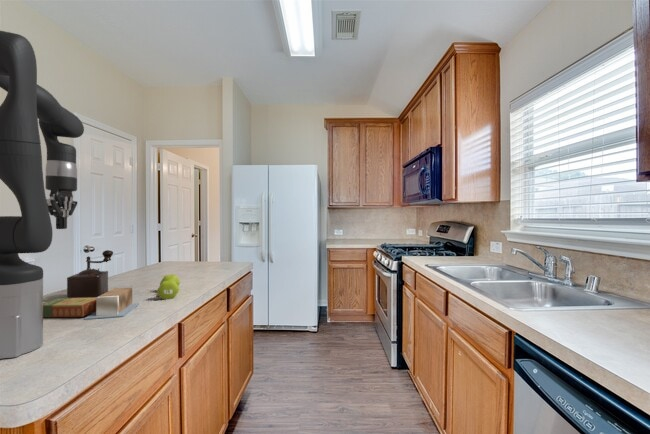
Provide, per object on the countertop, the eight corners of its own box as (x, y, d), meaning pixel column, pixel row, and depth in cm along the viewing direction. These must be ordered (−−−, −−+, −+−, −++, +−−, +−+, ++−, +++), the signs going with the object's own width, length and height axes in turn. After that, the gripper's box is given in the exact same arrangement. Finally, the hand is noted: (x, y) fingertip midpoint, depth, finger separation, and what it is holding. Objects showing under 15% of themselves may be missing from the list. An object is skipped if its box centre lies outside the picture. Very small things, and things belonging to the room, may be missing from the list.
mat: (123, 316, 91) (123, 315, 91) (83, 319, 89) (83, 318, 89) (138, 304, 104) (138, 303, 104) (104, 306, 101) (104, 305, 101)
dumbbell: (179, 299, 112) (179, 281, 112) (156, 301, 108) (156, 283, 108) (180, 289, 127) (180, 273, 127) (160, 290, 123) (160, 274, 123)
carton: (82, 317, 90) (82, 304, 89) (34, 317, 90) (34, 304, 90) (103, 308, 98) (103, 296, 98) (59, 308, 98) (59, 296, 98)
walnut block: (132, 303, 104) (117, 314, 93) (113, 304, 103) (96, 315, 91) (132, 287, 104) (117, 296, 93) (113, 288, 103) (96, 297, 91)
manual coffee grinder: (100, 299, 110) (101, 254, 110) (65, 301, 107) (66, 255, 106) (114, 289, 125) (115, 249, 125) (84, 291, 121) (84, 250, 121)
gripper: (62, 173, 85) (62, 230, 85) (86, 179, 98) (86, 228, 98) (32, 172, 83) (31, 230, 83) (61, 178, 96) (61, 228, 96)
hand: (61, 228), depth 91 cm, fingers closed
